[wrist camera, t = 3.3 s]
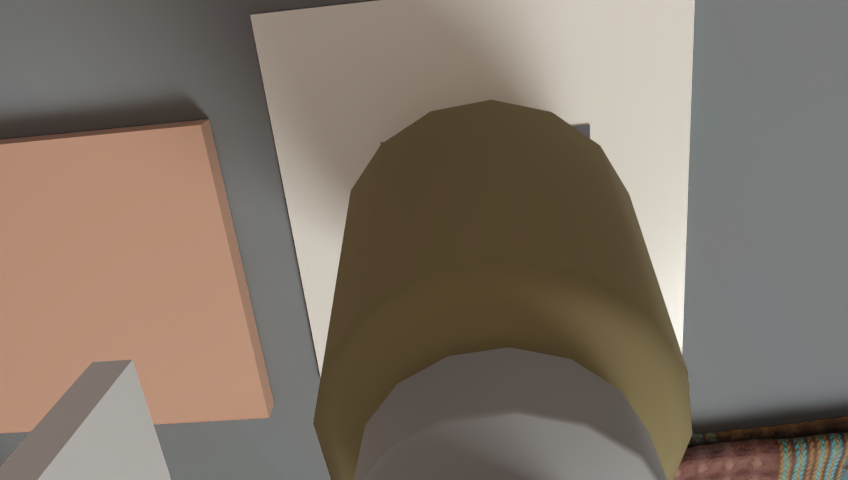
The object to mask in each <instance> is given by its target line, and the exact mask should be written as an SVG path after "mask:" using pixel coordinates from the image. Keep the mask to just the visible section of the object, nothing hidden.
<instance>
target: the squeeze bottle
mask: <svg viewBox="0 0 848 480" xmlns="http://www.w3.org/2000/svg"><path fill="white" fill-rule="evenodd" d="M313 424H314V427H315V430H316V433H317V436H318V440H319V443H320V446H321V449H322V452H323V455H324V458H325V461H326V465H327V468H328V471H329V474H330V477H331V480H673V479H674V477H675V474H676V472H677V470H678V467H679V465H680V463H681V460H682V458H683V455H684V453H685V451H686V448H687V446H688V444H689V441H690V439H691V437H692V422H691V409H690V396H689V382H688V371H687V368H686V365H685V362H684V359H683V356H682V353H681V350H680V347H679V344H678V341H677V338H676V335H675V332H674V329H673V326H672V323H671V320H670V316H669V313H668V310H667V307H666V304H665V301H664V298H663V295H662V292H661V289H660V286H659V283H658V280H657V277H656V274H655V271H654V268H653V265H652V262H651V259H650V256H649V253H648V250H647V247H646V244H645V240H644V237H643V234H642V231H641V228H640V225H639V222H638V219H637V216H636V213H635V210H634V207H633V204H632V201H631V198H630V195H629V193H628V191H627V189H626V188H625V186H624V184H623V183H622V181H621V179H620V178H619V176H618V174H617V173H616V171H615V169H614V168H613V166H612V164H611V163H610V161H609V159H608V158H607V156H606V154H605V153H604V151H603V149H602V148H601V146H600V145H599V144H597V143H596V142H594V141H593V140H591V139H590V138H589V137H587V136H586V135H584V134H583V133H581V132H580V131H578V130H577V129H576V128H574V127H573V126H571V125H570V124H568V123H567V122H565V121H564V120H563V119H561V118H560V117H558V116H557V115H555V114H554V113H552V112H550V111H545V110H540V109H535V108H530V107H525V106H520V105H515V104H510V103H506V102H501V101H496V100H487V101H481V102H476V103H471V104H466V105H461V106H455V107H450V108H445V109H440V110H435V111H430V112H429V113H427V114H426V115H424V116H423V117H421V118H420V119H418V120H417V121H415V122H414V123H412V124H411V125H409V126H408V127H406V128H405V129H403V130H402V131H400V132H399V133H397V134H396V135H394V136H393V137H391V138H390V139H388V140H387V141H385V142H383V143H382V144H381V145H380V147H379V148H378V150H377V151H376V153H375V154H374V156H373V157H372V159H371V160H370V162H369V163H368V165H367V167H366V168H365V170H364V171H363V173H362V174H361V176H360V177H359V179H358V180H357V182H356V183H355V185H354V186H353V188H352V189H351V192H350V198H349V204H348V210H347V217H346V223H345V229H344V235H343V242H342V248H341V254H340V260H339V266H338V273H337V279H336V285H335V291H334V298H333V304H332V310H331V316H330V323H329V329H328V335H327V341H326V348H325V354H324V360H323V366H322V373H321V379H320V385H319V391H318V398H317V404H316V410H315V417H314V423H313Z"/></svg>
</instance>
